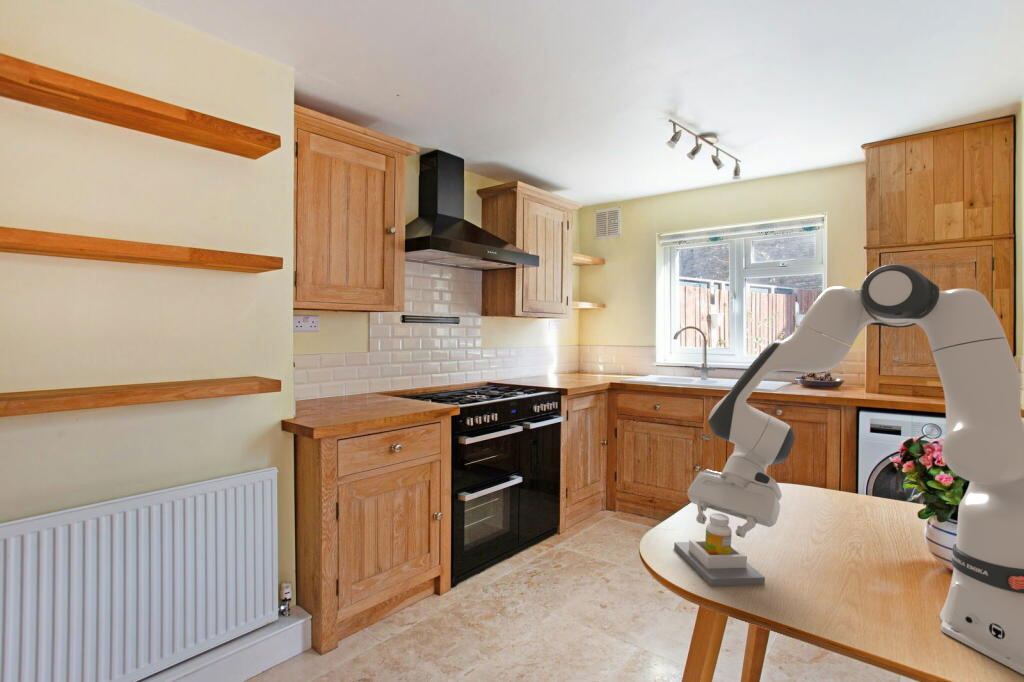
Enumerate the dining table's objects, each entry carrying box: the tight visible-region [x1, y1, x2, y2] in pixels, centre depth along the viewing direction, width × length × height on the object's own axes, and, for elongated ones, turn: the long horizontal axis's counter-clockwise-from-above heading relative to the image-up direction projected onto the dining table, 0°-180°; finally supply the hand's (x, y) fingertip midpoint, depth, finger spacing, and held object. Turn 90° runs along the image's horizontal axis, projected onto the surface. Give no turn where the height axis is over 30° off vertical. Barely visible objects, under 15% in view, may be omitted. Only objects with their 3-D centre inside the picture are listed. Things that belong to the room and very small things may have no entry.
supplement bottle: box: [704, 512, 733, 555], centre depth 120 cm, size 5×5×10 cm
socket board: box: [673, 539, 766, 587], centre depth 120 cm, size 18×12×4 cm, turn 7°
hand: (719, 528), depth 120 cm, fingers open, 8 cm apart
